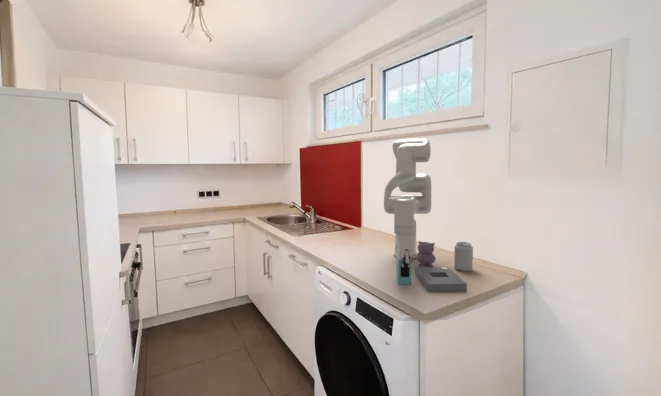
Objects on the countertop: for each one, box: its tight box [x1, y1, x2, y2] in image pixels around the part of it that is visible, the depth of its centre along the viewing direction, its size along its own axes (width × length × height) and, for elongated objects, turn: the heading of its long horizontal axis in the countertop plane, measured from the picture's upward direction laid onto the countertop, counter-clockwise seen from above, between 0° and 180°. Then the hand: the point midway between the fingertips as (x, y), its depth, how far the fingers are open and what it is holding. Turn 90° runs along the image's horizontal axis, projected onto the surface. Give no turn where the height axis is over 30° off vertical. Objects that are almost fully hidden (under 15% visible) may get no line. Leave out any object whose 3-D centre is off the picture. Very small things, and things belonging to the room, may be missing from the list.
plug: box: [395, 257, 412, 285], centre depth 126 cm, size 4×5×10 cm
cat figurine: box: [415, 240, 436, 267], centre depth 144 cm, size 8×8×12 cm
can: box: [453, 241, 474, 272], centre depth 141 cm, size 8×8×12 cm
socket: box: [414, 266, 468, 293], centre depth 126 cm, size 20×14×4 cm
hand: (403, 274), depth 126 cm, fingers closed on plug, 4 cm apart
